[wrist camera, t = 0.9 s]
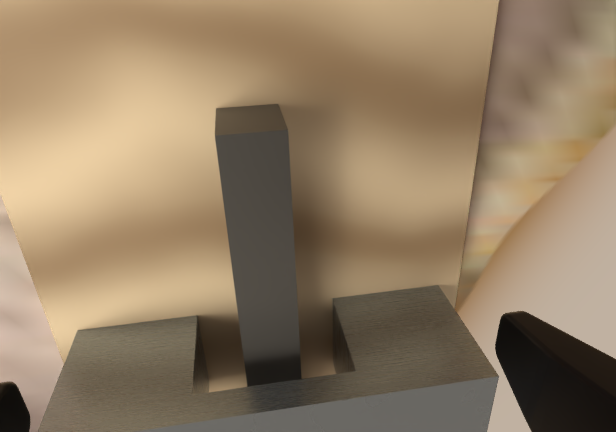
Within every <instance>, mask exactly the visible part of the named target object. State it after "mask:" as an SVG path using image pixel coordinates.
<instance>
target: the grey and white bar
mask: <svg viewBox="0 0 616 432" xmlns="http://www.w3.org/2000/svg"><path fill="white" fill-rule="evenodd" d="M215 142H216V149H217V157H218V165H219V172H220V180H221V188H222V195H223V203H224V211H225V218H226V226H227V234H228V241H229V249H230V257H231V264H232V272H233V280H234V288H235V295H236V303H237V311H238V318H239V326H240V334H241V341H242V349H243V357H244V364H245V372H246V380H247V387H250V386H257V385H264V384H271V383H277V382H284V381H291V380H298V379H302V376H301V358H300V339H299V321H298V302H297V284H296V265H295V247H294V228H293V210H292V191H291V173H290V154H289V136H288V128H287V125H286V123H285V120H284V118H283V115H282V112H281V110H280V107H279V105H278V104H268V105H254V106H241V107H227V108H216V117H215Z"/></svg>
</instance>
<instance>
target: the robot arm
mask: <svg viewBox="0 0 616 432" xmlns="http://www.w3.org/2000/svg"><path fill="white" fill-rule="evenodd" d="M495 346H496V347H495V349H496V354H497V357H498V359H499V362H500V364H501V366H502V369H503V371H504V373H505V375H506V377H507V380H508V382H509V384H510V386H511V388H512V390H513V393H514V395H515V397H516V400H517V402H518V404H519V406H520V408H521V411H522V413H523V415H524V417H525V419H526V421H527V423H528V425H529V427H530V429H531V431H532V432H616V359H614V358H613V357H611V356H609V355H607V354H605V353H603V352H601V351H599V350H597V349H595V348H594V347H592V346H590V345H588V344H586V343H584V342H582V341H580V340H578V339H576V338H574V337H573V336H571V335H569V334H567V333H565V332H563V331H561V330H559V329H557V328H556V327H554V326H552V325H550V324H548V323H546V322H544V321H542V320H540V319H538V318H537V317H535V316H533V315H531V314H529V313H527V312H524V311H517V312H510V313H505V314H503V316H502V317H501V320H500V324H499V329H498V334H497V339H496V344H495ZM29 429H30V414H29V411H28V409H27V407H26V404H25V402H24V400H23V398H22V396H21V393H20V391H19V389H18V387H17V385H16V384H15V383H13V382H2V383H0V432H29Z"/></svg>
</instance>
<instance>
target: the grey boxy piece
mask: <svg viewBox="0 0 616 432" xmlns="http://www.w3.org/2000/svg"><path fill="white" fill-rule="evenodd" d="M332 299H333V365H334V368H335V372H336V374H333V375H326V376H319V377H312V378H305V379H298V380H291V381H284V382H277V383H271V384H264V385H257V386H250V387H243V388H236V389H229V390H222V391H215V392H209V376H208V371H207V365H206V360H205V354H204V349H203V343H202V338H201V332H200V327H199V321H198V316H197V315H195V316H187V317H179V318H171V319H163V320H155V321H147V322H139V323H131V324H123V325H115V326H107V327H99V328H91V329H83V330H77V333H76V335H75V338H74V340H73V343H72V345H71V348H70V351H69V353H68V356H67V358H66V361H65V363H64V366H63V369H62V371H61V374H60V376H59V379H58V381H57V384H56V386H55V389H54V392H53V394H52V397H51V399H50V402H49V404H48V407H47V409H46V412H45V415H44V417H43V420H42V422H41V425H40V427H39V430H38V432H487V429H488V424H489V419H490V415H491V410H492V405H493V401H494V397H495V392H496V387H497V383H498V378H499V376H498V374H497V373H496V371H495V370H494V368H493V367H492V365H491V364H490V362H489V361H488V359H487V358H486V356H485V355H484V353H483V352H482V350H481V349H480V347H479V346H478V344H477V343H476V341H475V340H474V338H473V337H472V335H471V334H470V332H469V330H468V329H467V327H466V326H465V325H464V323H463V321H462V320H461V319H460V317H459V315H458V314H457V312H456V311H455V309H454V308H453V306H452V305H451V303H450V302H449V300H448V299H447V297H446V296H445V294H444V293H443V291H442V290H441V288H440V287H439V285H434V286H426V287H418V288H410V289H402V290H394V291H386V292H378V293H370V294H363V295H355V296H347V297H339V298H332Z"/></svg>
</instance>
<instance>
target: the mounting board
mask: <svg viewBox="0 0 616 432" xmlns="http://www.w3.org/2000/svg"><path fill="white" fill-rule="evenodd" d="M498 4H499V0H0V194H1V197H2V199H3V202H4V205H5V208H6V210H7V213H8V216H9V218H10V221H11V224H12V226H13V229H14V232H15V234H16V237H17V240H18V242H19V245H20V248H21V250H22V253H23V256H24V258H25V261H26V264H27V266H28V269H29V272H30V274H31V277H32V280H33V283H34V285H35V288H36V291H37V293H38V296H39V299H40V301H41V304H42V307H43V309H44V312H45V315H46V317H47V320H48V323H49V325H50V328H51V331H52V333H53V336H54V339H55V341H56V344H57V347H58V349H59V352H60V355H61V357H62V360H63V363H65V361H66V358H67V356H68V353H69V351H70V348H71V345H72V343H73V340H74V338H75V335H76V333H77V330H83V329H91V328H99V327H107V326H115V325H123V324H131V323H139V322H147V321H155V320H163V319H171V318H179V317H187V316H195V315H197V316H198V321H199V327H200V332H201V338H202V343H203V349H204V354H205V360H206V365H207V371H208V376H209V392H215V391H222V390H229V389H236V388H243V387H247V380H246V372H245V364H244V357H243V349H242V341H241V334H240V326H239V318H238V311H237V303H236V295H235V288H234V280H233V272H232V264H231V257H230V249H229V241H228V234H227V226H226V218H225V211H224V203H223V195H222V188H221V180H220V172H219V165H218V157H217V149H216V142H215V117H216V108H227V107H241V106H254V105H268V104H278V105H279V107H280V110H281V112H282V115H283V118H284V120H285V123H286V125H287V128H288V136H289V154H290V173H291V191H292V210H293V228H294V247H295V265H296V284H297V302H298V321H299V339H300V358H301V376H302V379H305V378H312V377H319V376H326V375H333V374H336V372H335V368H334V365H333V299H332V298H339V297H347V296H355V295H363V294H370V293H378V292H386V291H394V290H402V289H410V288H418V287H426V286H434V285H439V287H440V288H441V290H442V291H443V293H444V294H445V296H446V297H447V299H448V300H449V302H450V303H451V305H452V306H453V308H454V309H455V305H456V298H457V291H458V284H459V277H460V270H461V263H462V256H463V249H464V242H465V235H466V228H467V221H468V214H469V207H470V200H471V193H472V186H473V179H474V172H475V165H476V158H477V151H478V144H479V137H480V130H481V123H482V116H483V109H484V102H485V95H486V88H487V81H488V74H489V67H490V60H491V53H492V46H493V39H494V32H495V25H496V18H497V11H498Z"/></svg>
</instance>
